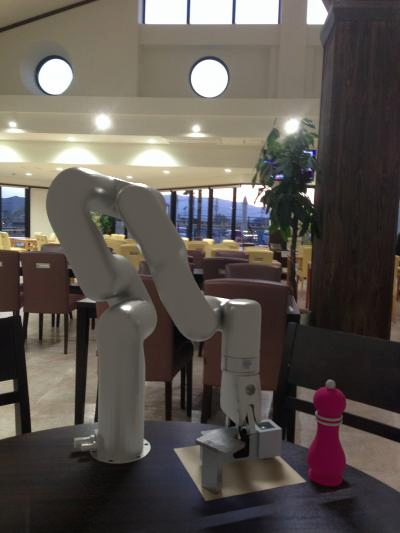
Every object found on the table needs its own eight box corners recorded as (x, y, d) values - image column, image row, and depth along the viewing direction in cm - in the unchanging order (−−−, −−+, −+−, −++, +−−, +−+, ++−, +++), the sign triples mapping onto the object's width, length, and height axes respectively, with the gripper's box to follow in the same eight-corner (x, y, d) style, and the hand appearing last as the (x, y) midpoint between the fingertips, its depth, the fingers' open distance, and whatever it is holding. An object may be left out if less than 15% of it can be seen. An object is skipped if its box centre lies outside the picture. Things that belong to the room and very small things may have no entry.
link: (207, 468, 84) (207, 440, 84) (198, 456, 89) (198, 429, 89) (281, 455, 90) (282, 428, 89) (269, 444, 95) (269, 419, 94)
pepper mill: (347, 496, 81) (353, 388, 79) (306, 490, 82) (311, 384, 81) (342, 475, 88) (348, 375, 86) (304, 470, 89) (310, 372, 88)
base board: (205, 507, 76) (205, 500, 76) (173, 454, 94) (173, 448, 94) (306, 487, 83) (306, 481, 83) (258, 441, 101) (258, 436, 101)
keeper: (213, 477, 85) (215, 430, 85) (242, 492, 81) (245, 442, 80) (193, 489, 81) (195, 439, 80) (223, 506, 76) (226, 453, 76)
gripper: (278, 373, 81) (274, 470, 83) (239, 350, 97) (236, 432, 98) (240, 376, 79) (237, 477, 80) (207, 352, 94) (205, 437, 96)
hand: (237, 451), depth 89 cm, fingers closed on link, 3 cm apart
